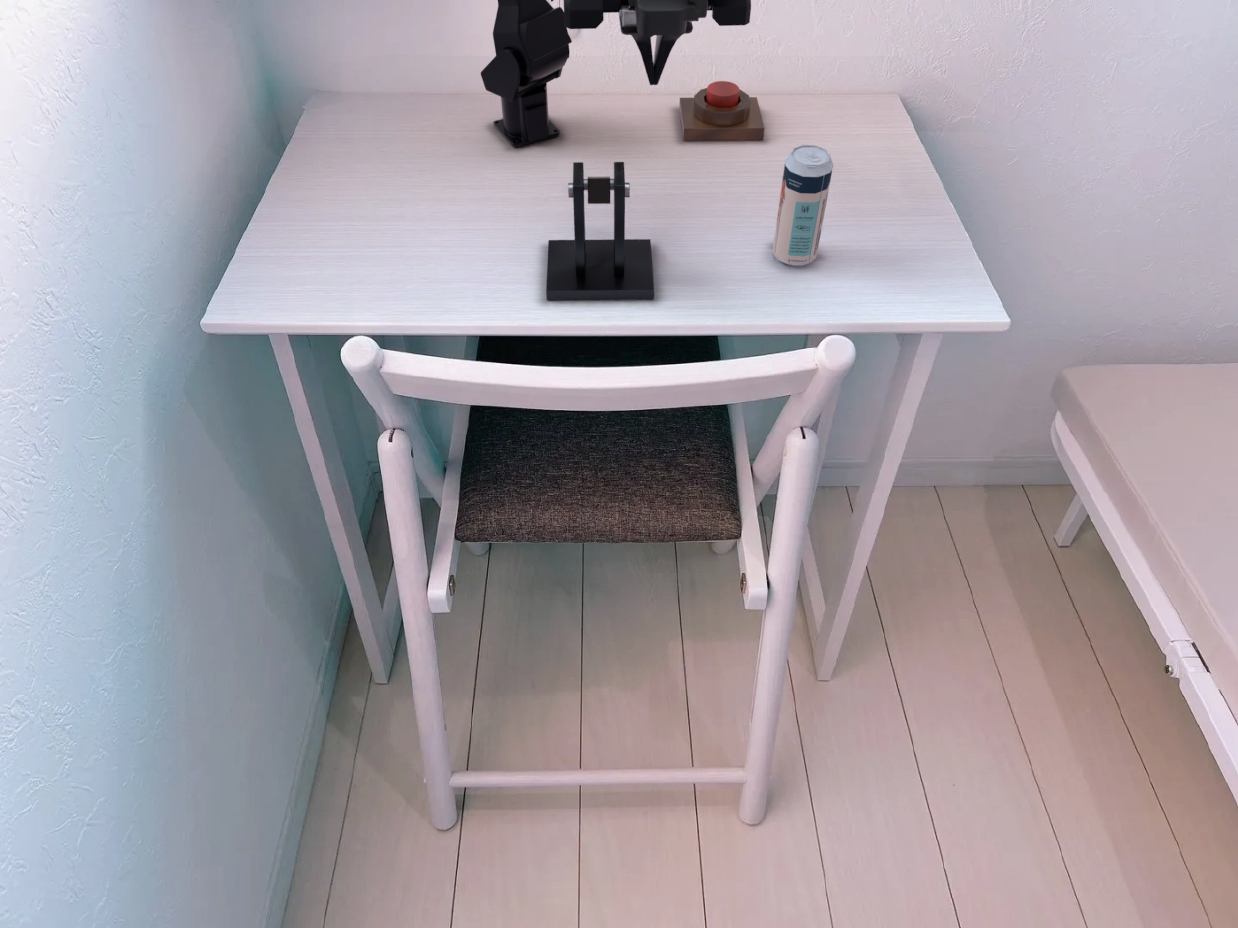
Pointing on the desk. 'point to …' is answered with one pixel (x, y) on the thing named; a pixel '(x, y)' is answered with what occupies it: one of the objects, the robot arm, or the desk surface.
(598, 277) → the bracket
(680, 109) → the button block
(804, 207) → the beer can
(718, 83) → the button
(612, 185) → the lever
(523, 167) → the desk surface
